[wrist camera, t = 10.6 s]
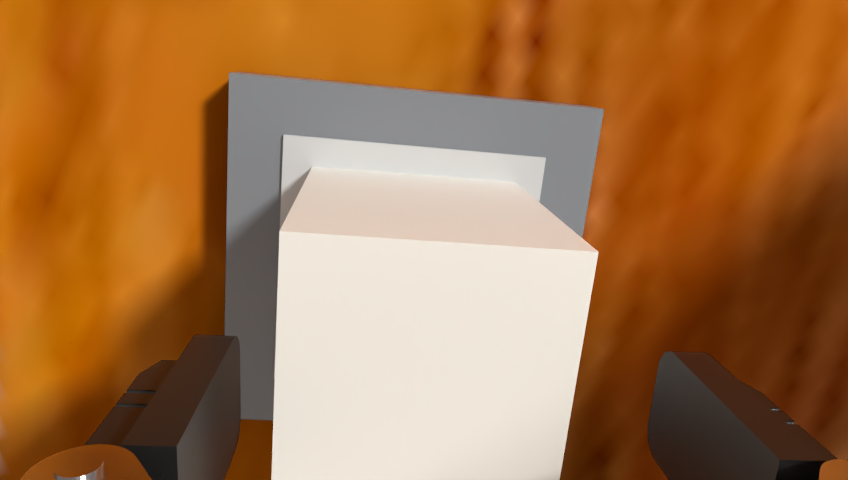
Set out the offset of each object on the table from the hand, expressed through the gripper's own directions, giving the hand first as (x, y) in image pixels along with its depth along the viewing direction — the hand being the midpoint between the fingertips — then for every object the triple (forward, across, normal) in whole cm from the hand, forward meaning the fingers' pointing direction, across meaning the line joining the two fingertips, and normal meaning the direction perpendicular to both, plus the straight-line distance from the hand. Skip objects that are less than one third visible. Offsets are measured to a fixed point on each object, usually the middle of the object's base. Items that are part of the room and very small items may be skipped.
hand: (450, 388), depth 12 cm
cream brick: (+5, +1, -1) cm, 5 cm away
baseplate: (+6, +1, -1) cm, 6 cm away
